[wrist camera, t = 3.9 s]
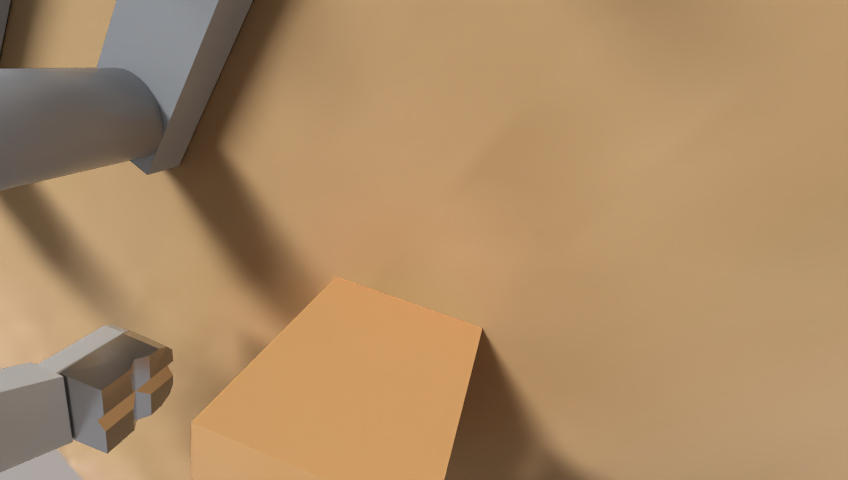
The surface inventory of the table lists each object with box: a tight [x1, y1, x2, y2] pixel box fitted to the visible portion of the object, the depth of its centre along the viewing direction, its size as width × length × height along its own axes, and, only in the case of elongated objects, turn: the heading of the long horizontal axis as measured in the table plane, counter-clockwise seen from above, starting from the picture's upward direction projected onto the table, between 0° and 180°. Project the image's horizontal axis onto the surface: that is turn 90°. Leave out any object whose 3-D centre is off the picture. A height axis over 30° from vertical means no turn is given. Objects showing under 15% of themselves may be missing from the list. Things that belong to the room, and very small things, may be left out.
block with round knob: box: [191, 277, 482, 480], centre depth 9 cm, size 4×4×6 cm
